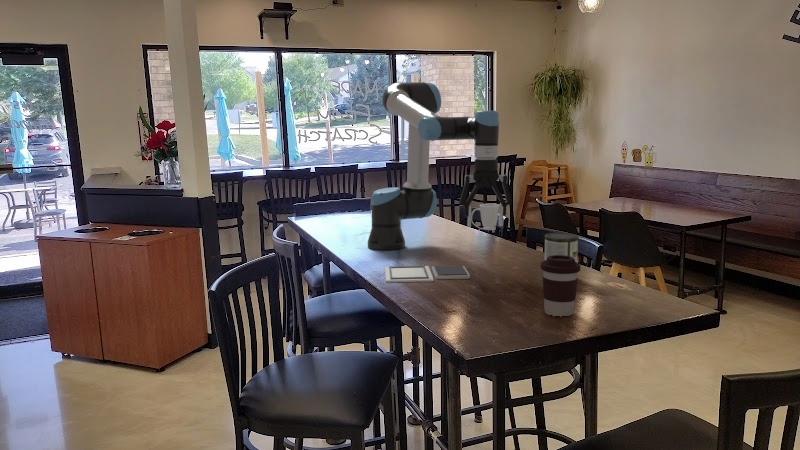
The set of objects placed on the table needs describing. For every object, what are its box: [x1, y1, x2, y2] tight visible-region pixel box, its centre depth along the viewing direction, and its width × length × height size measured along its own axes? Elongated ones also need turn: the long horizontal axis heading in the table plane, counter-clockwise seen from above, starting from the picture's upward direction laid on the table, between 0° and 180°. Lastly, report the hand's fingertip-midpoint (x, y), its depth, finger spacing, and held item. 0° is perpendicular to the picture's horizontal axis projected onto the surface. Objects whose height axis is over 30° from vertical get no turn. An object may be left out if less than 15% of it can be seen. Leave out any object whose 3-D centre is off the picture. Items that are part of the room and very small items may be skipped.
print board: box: [384, 265, 434, 283], centre depth 199 cm, size 18×15×1 cm
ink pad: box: [431, 264, 471, 280], centre depth 199 cm, size 13×11×1 cm
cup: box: [471, 203, 501, 231], centre depth 200 cm, size 7×10×8 cm
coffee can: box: [543, 232, 579, 263], centre depth 191 cm, size 10×10×14 cm
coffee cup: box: [540, 255, 581, 318], centre depth 157 cm, size 10×10×15 cm
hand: (484, 225), depth 200 cm, fingers closed on cup, 10 cm apart
